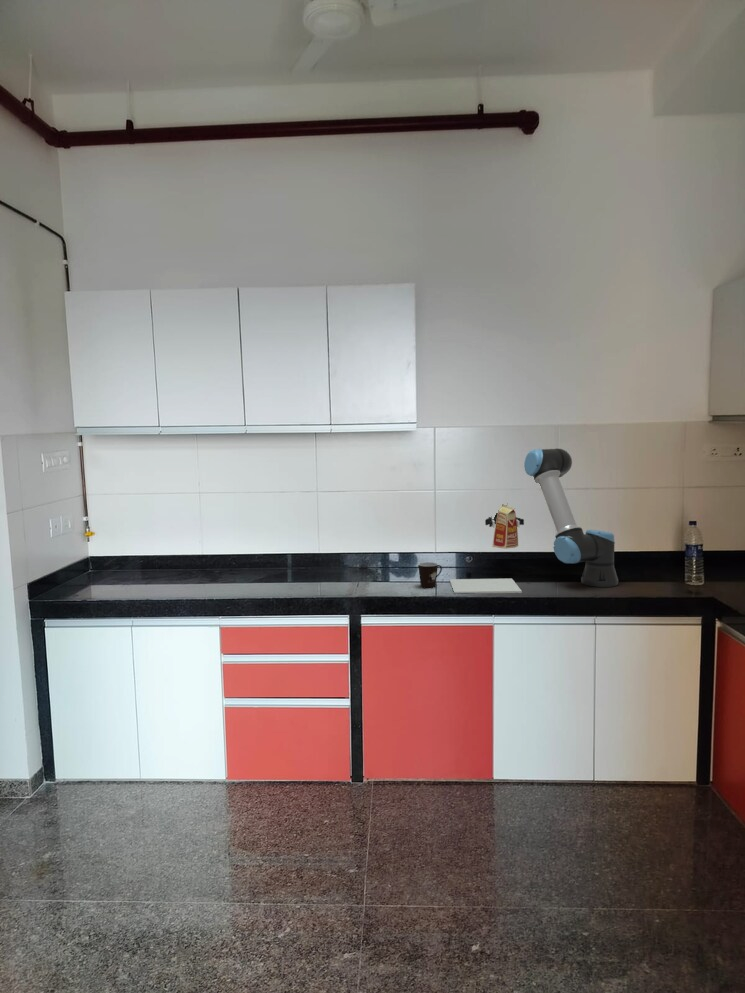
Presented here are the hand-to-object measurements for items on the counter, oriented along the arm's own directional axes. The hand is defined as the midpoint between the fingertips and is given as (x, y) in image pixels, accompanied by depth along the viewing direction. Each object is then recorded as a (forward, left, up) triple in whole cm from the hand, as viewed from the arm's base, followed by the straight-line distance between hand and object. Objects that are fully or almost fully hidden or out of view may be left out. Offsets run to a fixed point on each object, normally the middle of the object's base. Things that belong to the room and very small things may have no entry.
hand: (506, 524), depth 293 cm
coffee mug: (+8, +38, -25) cm, 46 cm away
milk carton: (+3, -3, -11) cm, 12 cm away
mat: (-7, +21, -25) cm, 33 cm away
